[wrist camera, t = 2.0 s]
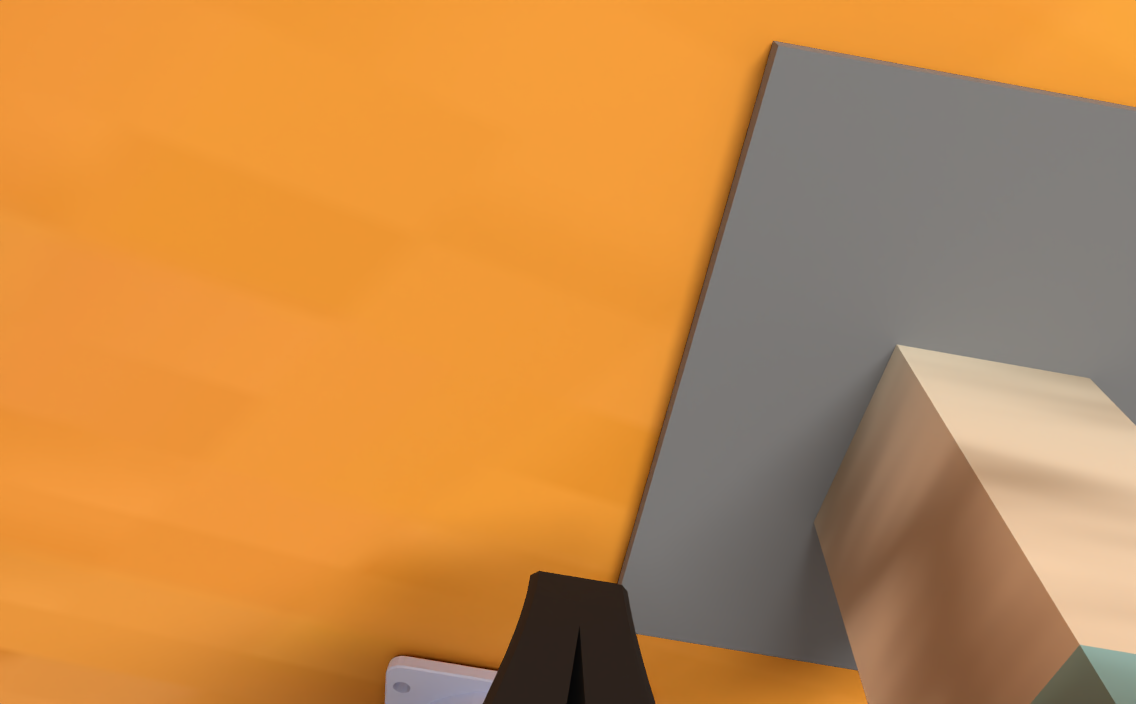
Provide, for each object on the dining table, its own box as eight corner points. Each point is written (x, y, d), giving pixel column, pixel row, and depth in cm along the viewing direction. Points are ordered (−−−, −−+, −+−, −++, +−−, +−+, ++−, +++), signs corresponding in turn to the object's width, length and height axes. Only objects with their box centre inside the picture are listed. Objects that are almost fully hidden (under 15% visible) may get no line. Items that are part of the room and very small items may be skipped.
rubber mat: (1234, 717, 21) (1247, 734, 20) (609, 613, 20) (608, 629, 20) (1781, 225, 13) (1820, 237, 12) (773, 40, 12) (778, 45, 12)
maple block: (977, 550, 17) (1203, 965, 11) (814, 522, 17) (933, 923, 10) (1089, 378, 15) (1484, 783, 8) (896, 344, 15) (1128, 724, 8)
